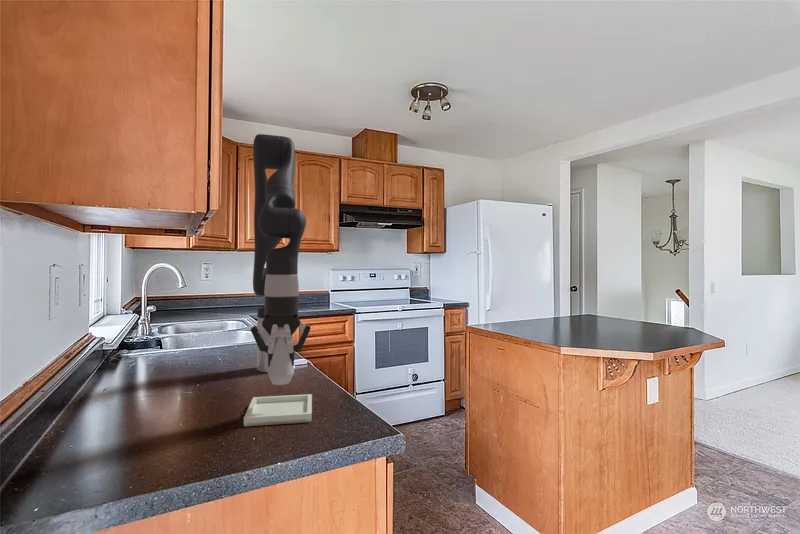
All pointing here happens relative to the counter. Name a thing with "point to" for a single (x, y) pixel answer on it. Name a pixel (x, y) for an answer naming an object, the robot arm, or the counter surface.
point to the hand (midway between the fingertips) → (281, 368)
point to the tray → (279, 410)
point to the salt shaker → (280, 360)
